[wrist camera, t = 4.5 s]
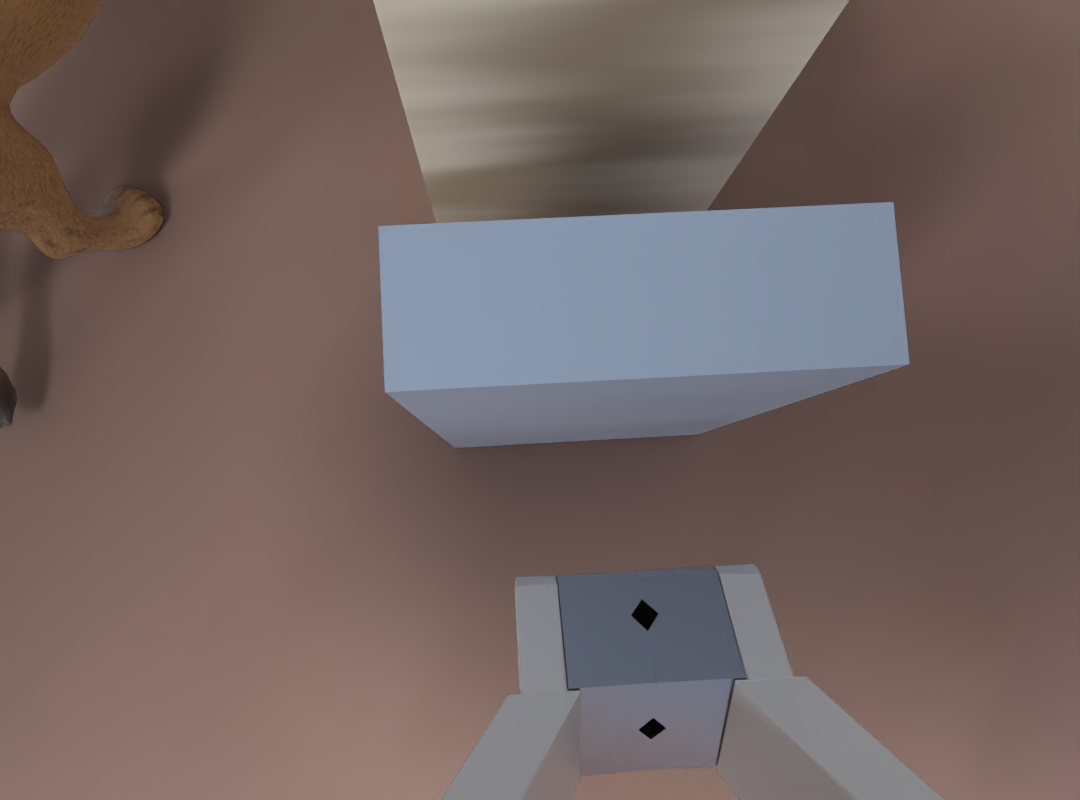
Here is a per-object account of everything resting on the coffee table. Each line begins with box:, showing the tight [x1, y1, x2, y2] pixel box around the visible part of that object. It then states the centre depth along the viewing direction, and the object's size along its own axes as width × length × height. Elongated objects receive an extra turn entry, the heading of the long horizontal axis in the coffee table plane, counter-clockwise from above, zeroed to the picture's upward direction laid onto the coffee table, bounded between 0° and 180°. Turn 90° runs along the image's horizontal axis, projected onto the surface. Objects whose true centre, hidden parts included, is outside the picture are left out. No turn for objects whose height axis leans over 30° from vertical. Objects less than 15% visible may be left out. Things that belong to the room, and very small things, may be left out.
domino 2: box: [378, 202, 910, 448], centre depth 14 cm, size 5×2×10 cm, turn 93°
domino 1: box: [373, 0, 849, 223], centre depth 14 cm, size 5×2×10 cm, turn 93°
